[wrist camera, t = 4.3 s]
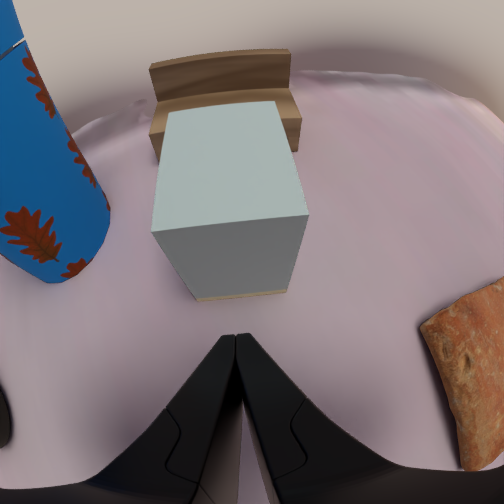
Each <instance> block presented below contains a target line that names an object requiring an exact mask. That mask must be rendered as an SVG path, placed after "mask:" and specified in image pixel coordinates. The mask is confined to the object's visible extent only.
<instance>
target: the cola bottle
mask: <svg viewBox="0 0 504 504" xmlns="http://www.w3.org/2000/svg"><path fill="white" fill-rule="evenodd" d="M9 432H10V422H9V415H8V410H7V406H6V403H5V400H4V398H3V395H2V393H1V391H0V448H1V447H3V446H4V445H5V444H6V442H7V440H8V437H9Z"/></svg>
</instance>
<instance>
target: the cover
mask: <svg viewBox="0 0 504 504" xmlns="http://www.w3.org/2000/svg"><path fill="white" fill-rule="evenodd" d="M308 217H309V212H308V209H307V205H306V201H305V197H304V194H303V190H302V187H301V183H300V180H299V176H298V173H297V169H296V166H295V163H294V159H293V156H292V153H291V149H290V146H289V143H288V140H287V137H286V134H285V131H284V127H283V124H282V121H281V118H280V115H279V112H278V110H277V107H276V104H275V101H262V102H247V103H235V104H225V105H216V106H208V107H200V108H194V109H187V110H181V111H175V112H170V113H169V114H168V119H167V124H166V129H165V134H164V140H163V145H162V151H161V157H160V163H159V169H158V176H157V183H156V191H155V199H154V207H153V216H152V227H151V233H152V234H153V236H154V237H155V239H156V240H157V242H158V244H159V245H160V247H161V248H162V250H163V251H164V253H165V254H166V256H167V257H168V259H169V260H170V262H171V264H172V265H173V267H174V268H175V269H176V271H177V272H178V274H179V275H180V277H181V278H182V280H183V281H184V283H185V284H186V286H187V287H188V288H189V290H190V291H191V293H192V294H193V296H194V297H195V298H196V300H197V301H198V302H200V301H211V300H222V299H232V298H241V297H251V296H260V295H269V294H277V293H285V292H286V291H287V288H288V285H289V282H290V278H291V275H292V272H293V269H294V265H295V262H296V259H297V255H298V252H299V248H300V245H301V242H302V238H303V235H304V231H305V228H306V224H307V221H308Z"/></svg>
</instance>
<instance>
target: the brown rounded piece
mask: <svg viewBox="0 0 504 504" xmlns="http://www.w3.org/2000/svg"><path fill="white" fill-rule="evenodd" d="M420 330H421V333H422V335H423V337H424V339H425V340H426V343H427V345H428V347H429V349H430V352H431V354H432V356H433V359H434V361H435V363H436V366H437V368H438V371H439V373H440V376H441V379H442V382H443V386H444V389H445V391H446V394H447V397H448V401H449V407H450V409H451V411H452V413H453V415H454V417H455V420H456V424H457V436H458V443H459V451H460V462H461V466H462V468H463V469H464V471H478V470H481V469H482V468H484V467H486V466H487V465H489V464H490V463H492V462H493V461H494V460H495V459H496V458H497V457H498V456H499V455H500V454H501V453H502V452H503V451H504V276H503V277H502V278H501V279H499V280H497V281H496V282H495V283H492V284H490V285H488V286H486V287H484V288H483V289H480V290H477V291H475V292H473V293H470V294H467V295H465V296H462V297H461V298H460V299H458V300H457V301H456V302H454V303H453V304H452V305H451V306H449V307H448V308H445V309H442V310H441V311H439V312H438V313H436V314H435V315H434V316H433V317H432V318H430V319H427V320H426V321H425V322H424V323H423V324H422V325H421V326H420Z"/></svg>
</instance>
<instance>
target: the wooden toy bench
mask: <svg viewBox="0 0 504 504" xmlns="http://www.w3.org/2000/svg"><path fill="white" fill-rule="evenodd" d="M290 62H291V53H290V52H289V50H288V49H253V50H237V51H225V52H215V53H207V54H200V55H193V56H187V57H182V58H176V59H171V60H166V61H162V62H157V63H152V64H151V66H150V68H149V72H150V76H151V80H152V83H153V87H154V90H155V94H156V97H157V101H158V103H157V107H156V110H155V114H154V117H153V120H152V124H151V128H150V132H149V137H150V139H151V142H152V145H153V148H154V150H155V153H156V156H157V158H158V161H159V163H160V157H161V151H162V145H163V140H164V134H165V129H166V124H167V119H168V114H169V113H170V112H175V111H181V110H187V109H194V108H200V107H208V106H216V105H225V104H235V103H247V102H262V101H275V104H276V107H277V110H278V112H279V115H280V118H281V121H282V124H283V127H284V131H285V134H286V137H287V140H288V143H289V146H290V149H291V152H293V151H298V144H299V137H300V130H301V122H302V117H301V114H300V112H299V110H298V108H297V105H296V103H295V101H294V99H293V96H292V94H291V92H290V90H289V77H290Z"/></svg>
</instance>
